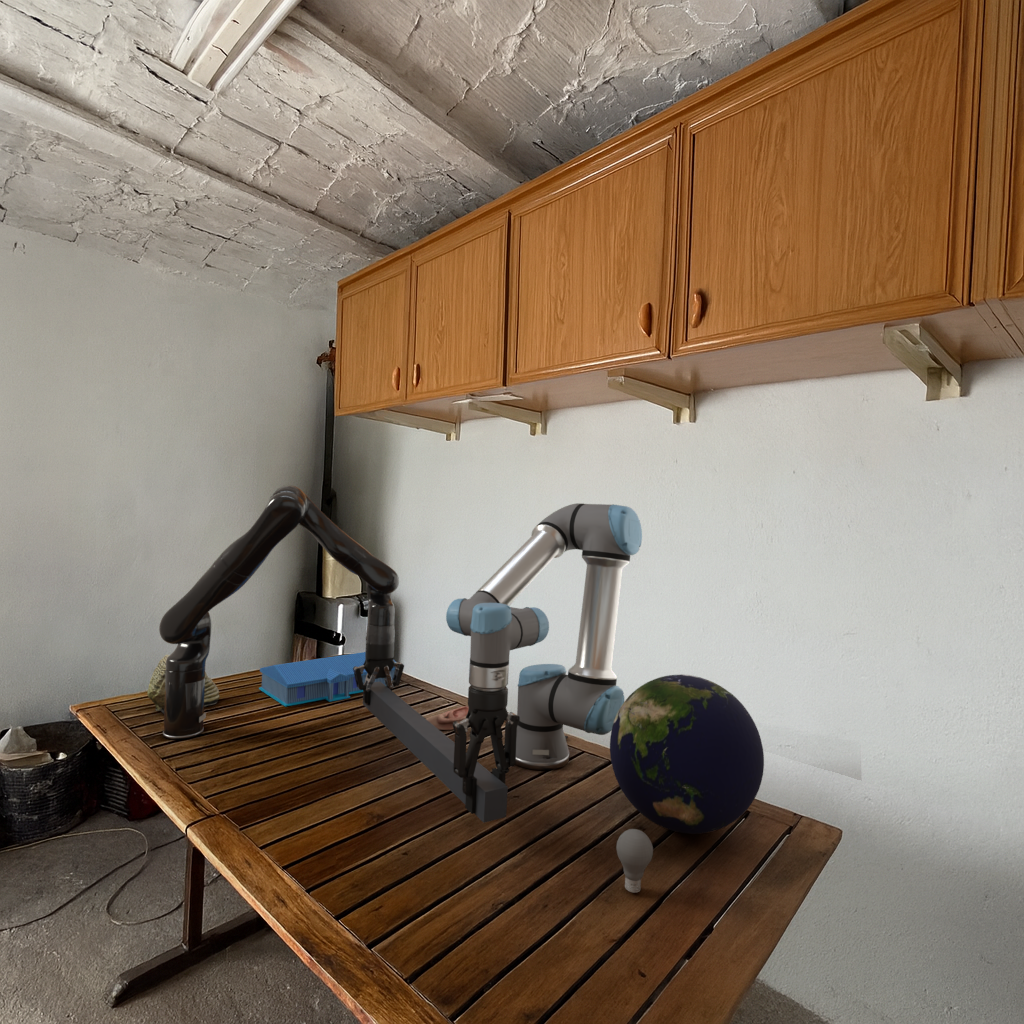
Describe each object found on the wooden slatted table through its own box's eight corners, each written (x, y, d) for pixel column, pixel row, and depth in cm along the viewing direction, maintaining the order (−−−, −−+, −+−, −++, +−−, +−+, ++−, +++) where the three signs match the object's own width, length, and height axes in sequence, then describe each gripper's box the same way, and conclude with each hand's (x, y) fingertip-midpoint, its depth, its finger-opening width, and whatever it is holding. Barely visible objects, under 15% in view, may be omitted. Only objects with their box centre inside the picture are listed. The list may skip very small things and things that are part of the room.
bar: (362, 704, 174) (363, 683, 174) (379, 701, 176) (380, 681, 176) (483, 823, 115) (485, 791, 115) (506, 817, 118) (507, 786, 118)
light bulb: (610, 879, 108) (613, 822, 108) (644, 879, 109) (647, 822, 109) (619, 902, 102) (622, 840, 102) (655, 901, 103) (658, 840, 103)
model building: (289, 709, 186) (291, 675, 185) (258, 688, 204) (259, 657, 204) (403, 687, 212) (405, 657, 212) (366, 670, 230) (368, 643, 230)
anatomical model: (417, 713, 176) (431, 700, 187) (417, 727, 176) (430, 714, 187) (463, 718, 173) (474, 705, 184) (463, 733, 173) (473, 719, 184)
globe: (589, 842, 120) (597, 685, 120) (623, 780, 148) (629, 652, 147) (758, 884, 109) (767, 711, 108) (760, 808, 137) (767, 670, 136)
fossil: (144, 707, 182) (145, 655, 182) (212, 696, 194) (213, 647, 194) (151, 716, 175) (153, 662, 175) (221, 703, 188) (223, 653, 188)
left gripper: (358, 645, 164) (355, 710, 164) (410, 641, 171) (407, 703, 171) (349, 639, 170) (347, 702, 170) (400, 635, 178) (397, 695, 178)
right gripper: (454, 697, 112) (449, 827, 113) (538, 685, 122) (533, 805, 122) (437, 685, 119) (431, 809, 119) (517, 675, 128) (512, 789, 128)
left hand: (377, 702), depth 171 cm, fingers closed on bar, 5 cm apart
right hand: (483, 807), depth 121 cm, fingers closed on bar, 5 cm apart
